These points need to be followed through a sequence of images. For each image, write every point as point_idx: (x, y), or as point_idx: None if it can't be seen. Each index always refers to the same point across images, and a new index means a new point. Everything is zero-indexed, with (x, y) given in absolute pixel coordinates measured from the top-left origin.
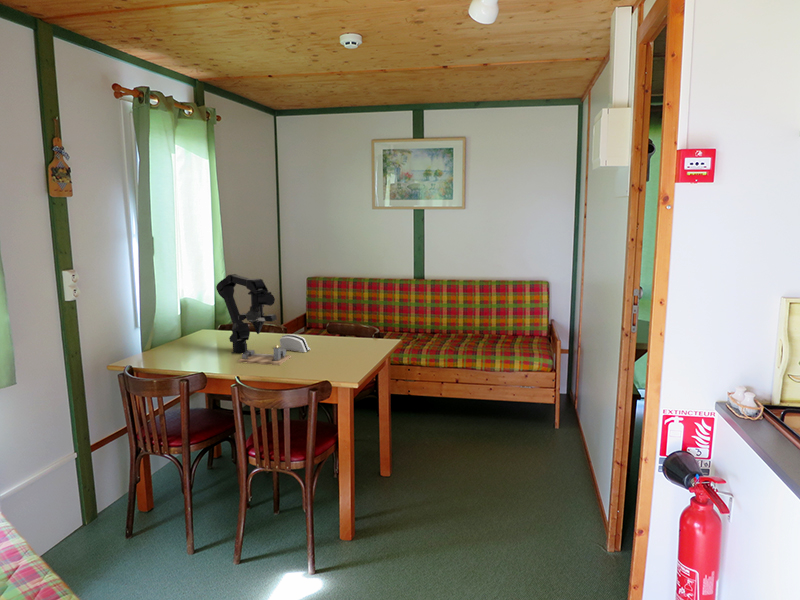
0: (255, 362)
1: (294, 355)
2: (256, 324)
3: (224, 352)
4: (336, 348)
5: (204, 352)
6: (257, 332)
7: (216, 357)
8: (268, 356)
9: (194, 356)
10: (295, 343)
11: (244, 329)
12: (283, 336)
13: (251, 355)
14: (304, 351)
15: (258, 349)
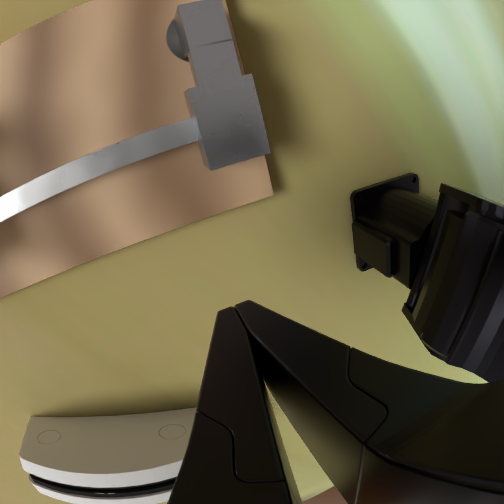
0: (51, 22)
1: (10, 355)
2: (357, 466)
3: (447, 175)
4: (20, 484)
5: (500, 137)
6: (240, 315)
7: (426, 60)
8: (33, 179)
9: (494, 60)
10: (65, 449)
11: (487, 308)
12: None
13: (187, 104)
14: (30, 420)
15: (321, 331)
